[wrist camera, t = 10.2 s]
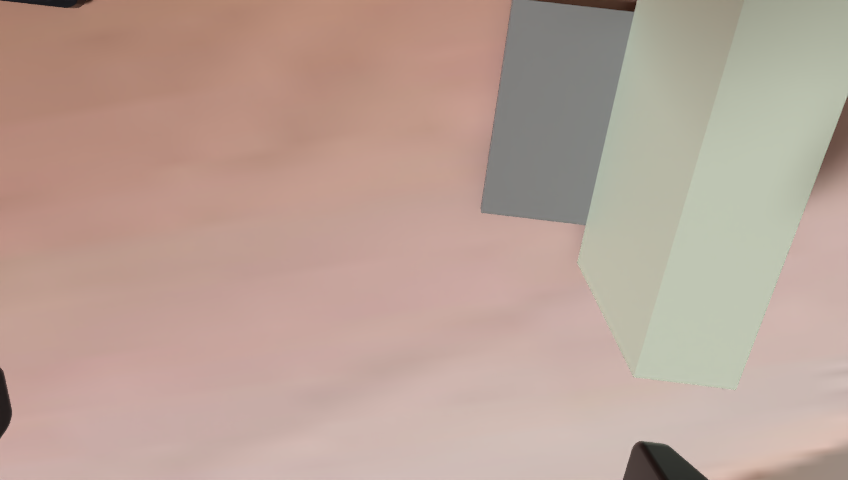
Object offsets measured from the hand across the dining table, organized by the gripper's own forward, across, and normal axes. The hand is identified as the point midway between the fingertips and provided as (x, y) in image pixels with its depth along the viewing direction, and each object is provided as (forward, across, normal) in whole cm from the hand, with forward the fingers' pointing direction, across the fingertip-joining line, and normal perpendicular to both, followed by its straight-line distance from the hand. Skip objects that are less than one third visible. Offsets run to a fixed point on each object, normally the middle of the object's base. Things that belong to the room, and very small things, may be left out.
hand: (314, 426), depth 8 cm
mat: (+13, -8, -3) cm, 15 cm away
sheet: (+12, -8, -3) cm, 15 cm away
